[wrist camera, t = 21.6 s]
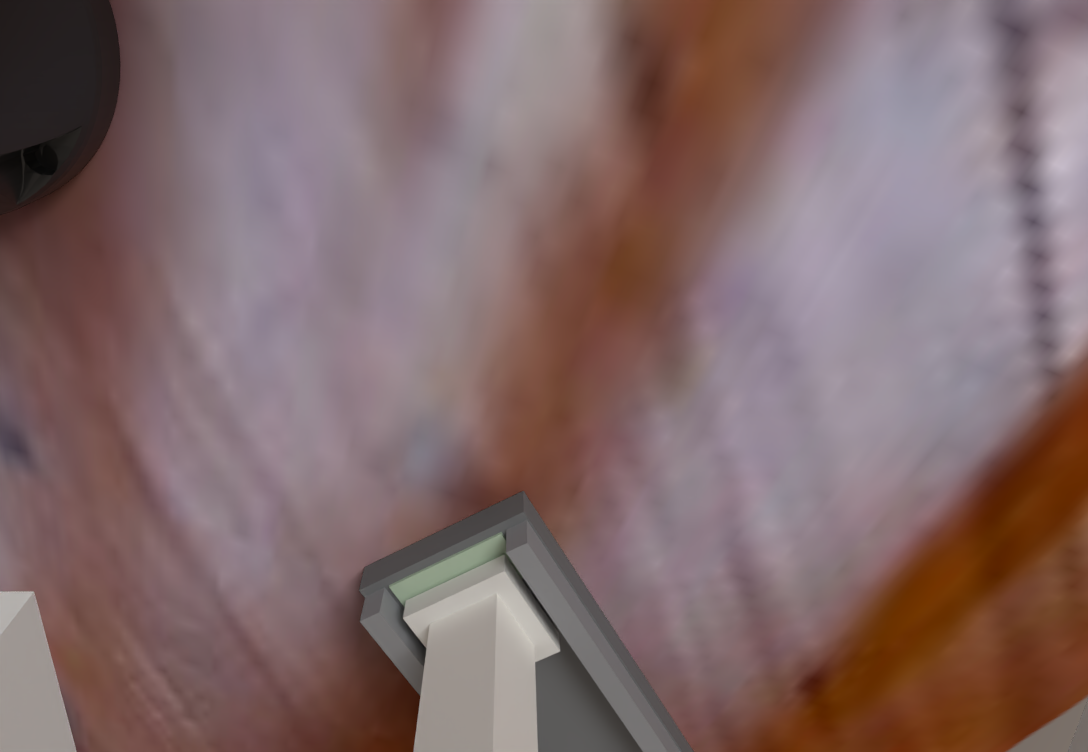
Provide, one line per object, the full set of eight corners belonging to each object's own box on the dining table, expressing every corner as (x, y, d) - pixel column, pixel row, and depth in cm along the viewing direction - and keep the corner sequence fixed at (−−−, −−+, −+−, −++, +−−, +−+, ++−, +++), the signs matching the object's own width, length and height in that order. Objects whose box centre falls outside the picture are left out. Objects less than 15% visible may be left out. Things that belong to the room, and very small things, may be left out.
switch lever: (405, 600, 47) (368, 822, 35) (504, 554, 46) (501, 766, 34) (463, 675, 49) (447, 909, 37) (559, 633, 48) (574, 858, 36)
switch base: (364, 567, 49) (352, 615, 45) (523, 490, 47) (524, 534, 43) (581, 844, 59) (585, 902, 55) (718, 790, 57) (732, 846, 53)
